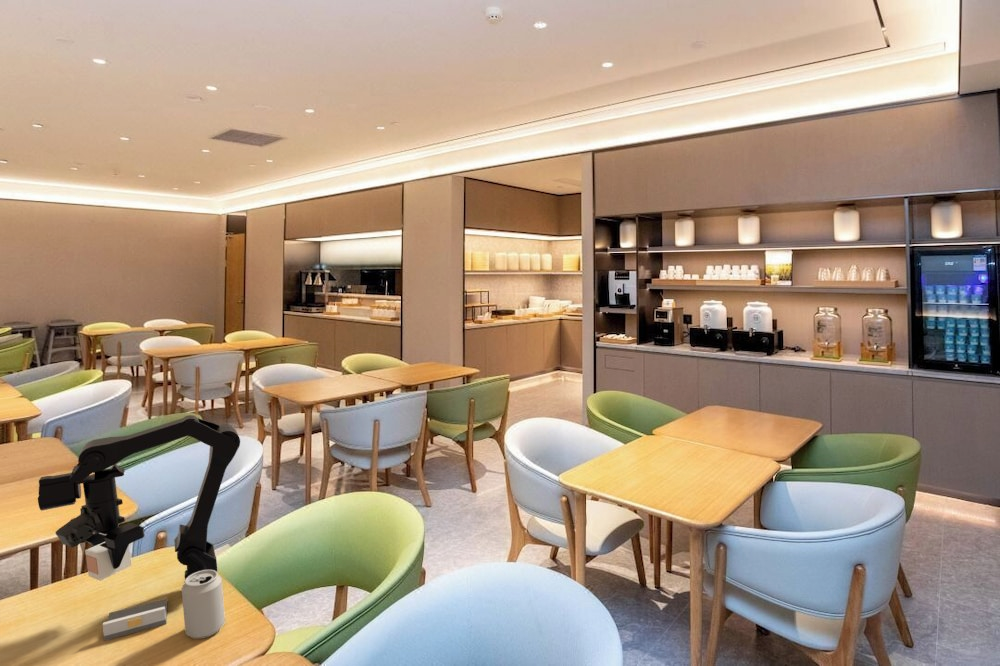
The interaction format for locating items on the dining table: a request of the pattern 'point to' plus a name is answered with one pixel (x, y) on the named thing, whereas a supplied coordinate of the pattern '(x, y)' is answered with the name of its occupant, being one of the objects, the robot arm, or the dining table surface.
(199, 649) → the dining table surface
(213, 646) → the dining table surface
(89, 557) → the carton
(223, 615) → the can
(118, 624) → the grey drawer
